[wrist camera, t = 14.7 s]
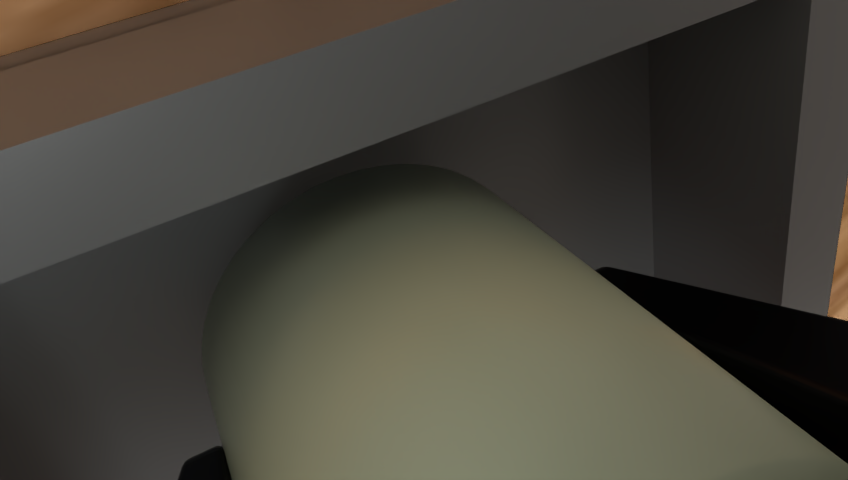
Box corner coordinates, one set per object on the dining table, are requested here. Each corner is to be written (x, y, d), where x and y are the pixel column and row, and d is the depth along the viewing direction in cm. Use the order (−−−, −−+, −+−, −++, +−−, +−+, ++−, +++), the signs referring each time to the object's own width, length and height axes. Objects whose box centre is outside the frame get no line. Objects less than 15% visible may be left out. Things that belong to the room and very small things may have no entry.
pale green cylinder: (510, 110, 8) (932, 343, 4) (547, 378, 11) (841, 693, 7) (136, 252, 7) (223, 756, 3) (271, 518, 9) (420, 999, 5)
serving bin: (670, 471, 18) (787, 588, 15) (168, 757, 15) (191, 979, 12) (663, -140, 10) (894, -144, 7) (-374, 167, 7) (-684, 375, 4)
